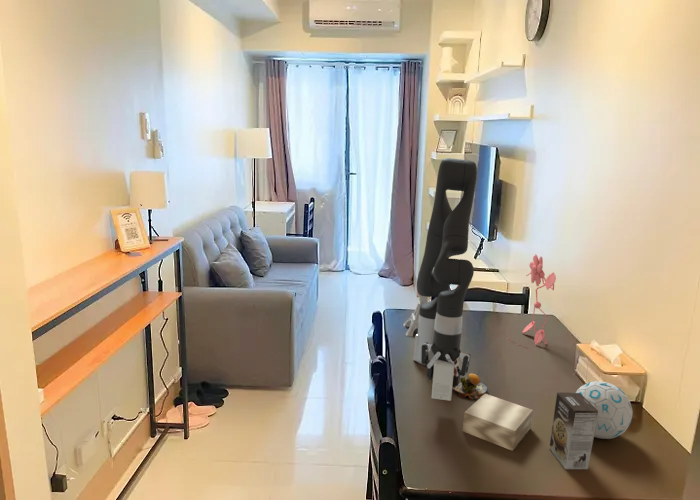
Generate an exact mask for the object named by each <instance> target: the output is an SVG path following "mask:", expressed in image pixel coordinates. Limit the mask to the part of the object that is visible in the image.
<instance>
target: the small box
mask: <svg viewBox="0 0 700 500" xmlns="http://www.w3.org/2000/svg"><path fill="white" fill-rule="evenodd" d="M453 376H454V365H452V364H449V363H448V362H445V361H441V360H435V363H434V372H433V379H432V383H431V384H432V386H431V387H432V388H431V399H434V400H441V401H442V400H443V401H450V402H451V401H452V394H453V388H452V386H453Z"/></svg>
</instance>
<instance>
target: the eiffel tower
mask: <svg viewBox="0 0 700 500" xmlns="http://www.w3.org/2000/svg"><path fill="white" fill-rule="evenodd" d="M428 302H429V301H428V297H426V296H421V295H419V299H418V300H417V305H416V307H415V310H414V311H413V312H411V316H410V317H409V318H408V319H407V320H406V321H405V322H404V323H403V327H406V328H408V327H409V328H408V330H407V331H406V332H405V335H406V337H413V336H414V332H415V330H416V329H418V322H419V309H420V306H421V305H422V304H425V303H428Z"/></svg>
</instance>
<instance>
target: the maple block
mask: <svg viewBox="0 0 700 500" xmlns="http://www.w3.org/2000/svg"><path fill="white" fill-rule="evenodd" d="M533 412H534V410H533V409H531V408H528V407H525V406H522V405H519V404H517V403H514V402H511V401H507V400H505V399H502V398H500V397H496V396H493V395H491V394H484V395H483V396H482V397H480V398H477V399H476V401H475V402H473V404H472V405H471V406H469V407H468V408H467V410H465V411H464V412H463V413H464V414H463V423H462V432H463V433H466V434H468V435H471V436H473V437H477V438H479V439H481V440H484V441H485V442H489V443H491V444H494V445H497V446H499V447H502V448H504V449H506V450H510V451H512V452H513V451H514V450H515V449H516V447H517V446H518V445H519V444H520V442H521V441H522V440H523V438H524V437H525V436H526V435H527V434H528V432H529V431H530V430H531V429H532V428H531V427H532V422H533V421H532V419H533ZM525 434H526V435H525Z"/></svg>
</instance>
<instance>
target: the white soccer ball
mask: <svg viewBox="0 0 700 500" xmlns="http://www.w3.org/2000/svg"><path fill="white" fill-rule="evenodd" d="M574 393H580V394H581V395H582V396H584V397H585V398H586V399H587V400H588V401H589V402H590V403H591V404H592V405H593V406H594V407H595V408H596V409H597V410H598V416H597V421H596V427H595V433H594V438H597V439H604V440H605V439H606V440H610V439H614V438H617V437H620V436H621V435H623V434H624V433H625V432H626V431H627V430H628V429H629V427H630V425H631V423H632V420H633V419H632V418H633V413H634V411H633V408H632V403H631V401H630V399H629V397H628V396H627V395H626V393H625V392H624V391H623V390H622V389H620V387H618V386H617V385H614V384H613V383H611V382H606V381H601V380H595V381H589V382H587V383H585V384H583V385H581V386H580V387H579V388H577V390H576V391H575V392H574Z"/></svg>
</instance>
